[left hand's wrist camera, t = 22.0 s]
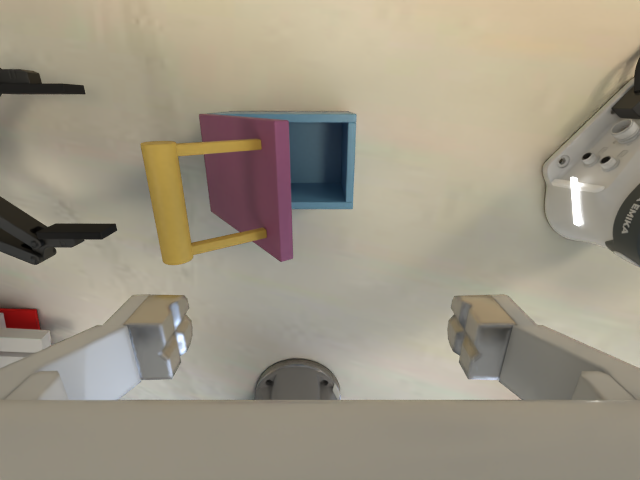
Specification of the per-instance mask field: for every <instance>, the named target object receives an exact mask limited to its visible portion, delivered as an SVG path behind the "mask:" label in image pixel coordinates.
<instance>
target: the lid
mask: <svg viewBox="0 0 640 480" xmlns="http://www.w3.org/2000/svg"><path fill="white" fill-rule="evenodd" d="M199 119H200V127H201V135H202V142H195V143H179V144H176V142H173V141H152V142H144V143H141V150H142V155H143V160H144V165H145V171H146V176H147V181H148V186H149V191H150V197H151V202H152V207H153V212H154V218H155V223H156V228H157V233H158V239H159V244H160V249H161V254H162V259H163V262H164V263H165V264H168V265H179V264H183V263H186V262H189V261H190V260H192V258H193V255H196V254H200V253H204V252H208V251H213V250H217V249H221V248H225V247H230V246H234V245H238V244H242V243H247V242H251V241H253V242H254V243H256V244H257V245H258V246H260V247H261V248H262V249H264V250H265V251H267V252H268V253H269V254H271V255H272V256H273V257H275V258H276V259H278V260H279V261H280V262H282V261H286V260H289V259H292V258H293V240H292V208H291V176H290V143H289V121H288V120H279V119H267V118H254V117H242V116H229V115H216V114H199ZM201 154H204V159H205V167H206V175H207V183H208V191H209V199H210V207H211V212H213V213H214V214H216V215H217V216H218V217H220V218H221V219H222V220H224V221H225V222H227V223H228V224H229V225H231V226H232V227H233V228H235V229H236V230H238V231H239V232H240V233H235V234H230V235H226V236H221V237H216V238H212V239H207V240H203V241H198V242H193V243H191V238H190V232H189V225H188V219H187V212H186V206H185V199H184V193H183V186H182V179H181V173H180V166H179V160H178V156H189V155H201Z"/></svg>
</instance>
